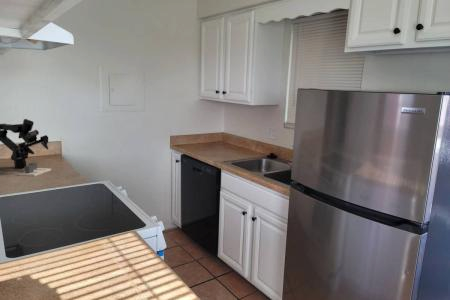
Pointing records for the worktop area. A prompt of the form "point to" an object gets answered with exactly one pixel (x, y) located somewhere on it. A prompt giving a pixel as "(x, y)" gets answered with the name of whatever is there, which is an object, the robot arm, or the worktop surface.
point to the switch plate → (35, 172)
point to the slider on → (34, 164)
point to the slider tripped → (29, 168)
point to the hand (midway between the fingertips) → (41, 151)
